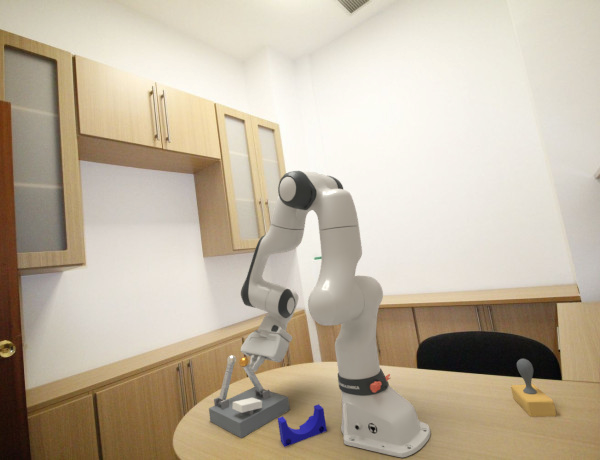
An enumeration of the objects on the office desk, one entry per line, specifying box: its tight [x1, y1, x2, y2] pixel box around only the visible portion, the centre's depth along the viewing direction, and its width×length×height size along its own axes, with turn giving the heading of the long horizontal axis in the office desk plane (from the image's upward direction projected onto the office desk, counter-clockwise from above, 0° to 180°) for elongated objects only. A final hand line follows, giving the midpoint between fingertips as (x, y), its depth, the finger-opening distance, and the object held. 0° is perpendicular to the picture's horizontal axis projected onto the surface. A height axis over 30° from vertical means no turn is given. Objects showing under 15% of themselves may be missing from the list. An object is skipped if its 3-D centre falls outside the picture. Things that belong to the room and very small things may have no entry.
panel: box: [208, 386, 291, 439], centre depth 100 cm, size 18×18×6 cm
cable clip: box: [277, 403, 327, 448], centre depth 84 cm, size 12×4×6 cm, turn 111°
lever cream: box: [217, 354, 237, 406], centre depth 103 cm, size 3×3×15 cm
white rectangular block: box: [232, 398, 262, 413], centre depth 93 cm, size 5×7×2 cm
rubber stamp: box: [510, 358, 557, 418], centre depth 81 cm, size 10×6×12 cm, turn 166°
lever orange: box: [238, 356, 264, 396], centre depth 101 cm, size 3×3×15 cm
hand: (251, 370), depth 102 cm, fingers closed, pressing on lever orange
